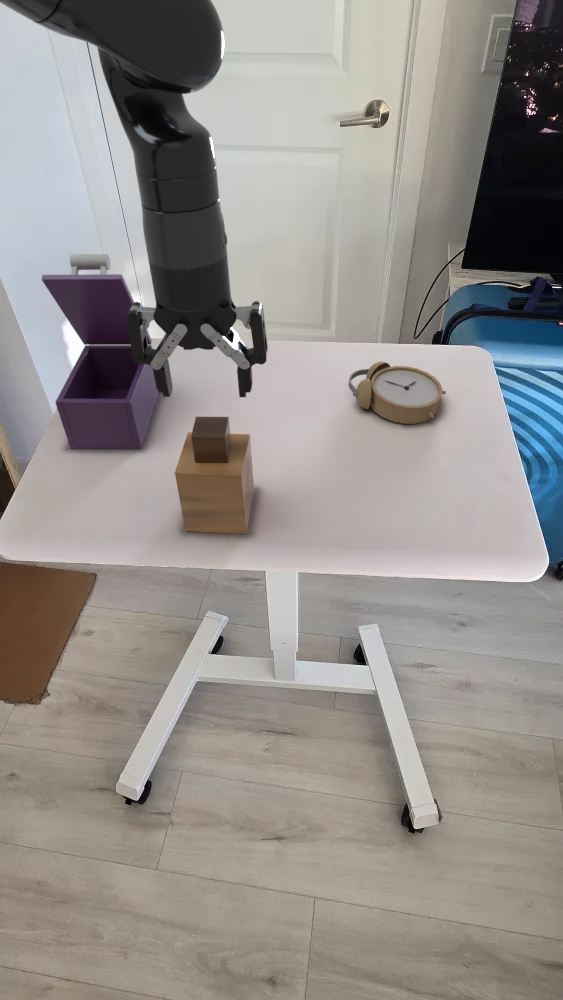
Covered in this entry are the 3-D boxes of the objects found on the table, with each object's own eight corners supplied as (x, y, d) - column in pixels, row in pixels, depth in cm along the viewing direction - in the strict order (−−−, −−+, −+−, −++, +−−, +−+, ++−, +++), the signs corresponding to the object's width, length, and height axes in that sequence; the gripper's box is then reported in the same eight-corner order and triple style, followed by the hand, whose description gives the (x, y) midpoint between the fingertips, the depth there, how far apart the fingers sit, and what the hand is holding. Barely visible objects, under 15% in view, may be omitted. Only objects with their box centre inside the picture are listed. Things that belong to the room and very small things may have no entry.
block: (228, 463, 75) (225, 436, 72) (195, 463, 75) (190, 436, 72) (231, 442, 78) (228, 416, 75) (199, 442, 78) (195, 416, 75)
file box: (141, 449, 93) (130, 402, 88) (70, 448, 94) (54, 402, 88) (160, 390, 105) (152, 345, 99) (96, 389, 105) (85, 345, 100)
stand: (246, 534, 80) (241, 475, 73) (185, 531, 81) (174, 472, 74) (254, 492, 86) (250, 434, 79) (197, 489, 87) (187, 431, 80)
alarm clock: (433, 416, 92) (341, 380, 95) (423, 441, 96) (334, 405, 99) (452, 378, 100) (366, 345, 103) (442, 402, 103) (359, 370, 106)
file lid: (121, 279, 83) (125, 244, 84) (41, 279, 83) (46, 245, 85) (151, 344, 99) (154, 314, 100) (84, 344, 99) (87, 315, 101)
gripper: (103, 267, 57) (136, 413, 68) (259, 265, 56) (267, 413, 67) (122, 235, 62) (150, 375, 74) (264, 233, 62) (270, 375, 73)
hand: (206, 393), depth 71 cm, fingers open, 8 cm apart
